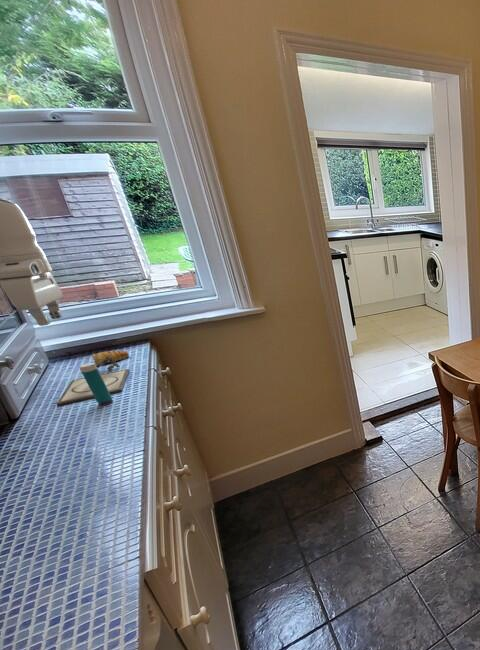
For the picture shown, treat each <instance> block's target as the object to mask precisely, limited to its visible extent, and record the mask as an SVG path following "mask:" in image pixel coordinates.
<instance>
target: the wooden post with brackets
mask: <svg viewBox="0 0 480 650" xmlns="http://www.w3.org/2000/svg"><path fill="white" fill-rule="evenodd" d="M112 359H113V357H112V356H111V357H106V359H105V361H102V362H101V363H99V364H98V365H96V364H95V365H96V367H97V369H99V367H102V366H103V365H105V364H112V365H109V366H108V367H107V368H106V369H107V370H109V371H111V370H112V369H114V368H115V367H116V368H120V364H118V363H117V362H116V361H115V362H114V361H113V360H112ZM108 361H110V362H108ZM106 362H108V363H106Z"/></svg>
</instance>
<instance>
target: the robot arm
mask: <svg viewBox="0 0 480 650" xmlns="http://www.w3.org/2000/svg"><path fill="white" fill-rule="evenodd" d="M36 237H37V236H36V233H35V230H34V229H33V227H32V225H31V223H30V221H29V220H28V217H27V216H26V214H25V213H24V212H23V209H21V207H20V206H19V205H18V204H17V203H15V202H14V201H12V200H10V199H6V198H1V197H0V286H1V288H2V290H3V291H4V293H5V295H6V297H7V298H8V300H9V301H10V303H11V304H12V305H13V307H15V309H16V310H18V311H28V313H29V314H30V316H31V317H32V318H33V319H34V320H35V321H36V323H37V325H38V326H39V327H40V326H41V327H43V326H48V325H50V324H51V321H50V318H51V320H56V319H61V318H63V314H62V312H61V309H60V305H59V301H58V300H60V299H62V298H63V292H62V290H61V288H60V287H59V285H58V283H57V281H56V279H55V277H54V276H53V274H52V272H53V268H52V266H51V264H50V262H49V260H48V258H47V255H46V254H45V252H44V250H43V249H42V248H41V246H39V243H38V242H37V238H36ZM43 306H46V307H47V309H48V314H49V316H46V314H45V312H44V309H43ZM49 317H50V318H49Z"/></svg>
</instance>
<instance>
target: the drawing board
mask: <svg viewBox="0 0 480 650" xmlns="http://www.w3.org/2000/svg"><path fill="white" fill-rule="evenodd" d="M129 373H130V368H125V369H121V370H115V371H111V372H105V373H102V374H101V373H100V375H101V377H102V379H103V381H104V383H105V385H106V387H107V389H108V391H109V393H110V395H113V394H119V393H121V392H123V390H124V387H125V384H126V382H127V379H128V376H129ZM92 399H95V397H94V395H93V393H92V391H91V389H90V388H89V386H88V384H87V382H86V380H85V378H84V377H82V378H78V379H73V380H71V381H70V383H69V384H68V386H67V387H66V389H65V390H64V391H63V393H62V395H61V396H60V398H59V400H58V401H57V403H56V406H57V407H61V406H65V405H69V404H73V403H79V402H82V401H88V400H92Z"/></svg>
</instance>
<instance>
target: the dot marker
mask: <svg viewBox="0 0 480 650" xmlns="http://www.w3.org/2000/svg"><path fill="white" fill-rule="evenodd" d="M78 368H79V370H80V372H81V374H82V375H83V378H85V380H86V382H87V384H88V386H89V388H90V389H91V391H92V393H93V395H94V397H95V398H94V399H95V401H96V403H97V404H98V406H99V407H100V406H102V407H103V406H107V405H110V404H112V403H113V402H114V400H113V397H112V394H110V393H109V391H108V389H107V387H106V385H105V383H104V381H103V379H102V377H101V373H100V370H99V368H97V367H96V364H95V362H87V363H82V364H81V365H79V366H78Z"/></svg>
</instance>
